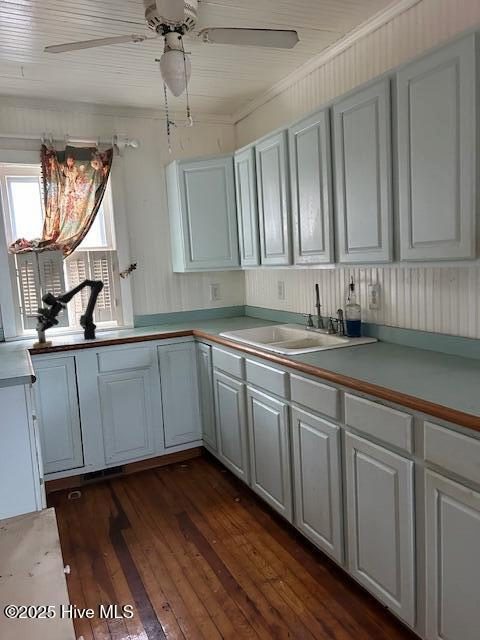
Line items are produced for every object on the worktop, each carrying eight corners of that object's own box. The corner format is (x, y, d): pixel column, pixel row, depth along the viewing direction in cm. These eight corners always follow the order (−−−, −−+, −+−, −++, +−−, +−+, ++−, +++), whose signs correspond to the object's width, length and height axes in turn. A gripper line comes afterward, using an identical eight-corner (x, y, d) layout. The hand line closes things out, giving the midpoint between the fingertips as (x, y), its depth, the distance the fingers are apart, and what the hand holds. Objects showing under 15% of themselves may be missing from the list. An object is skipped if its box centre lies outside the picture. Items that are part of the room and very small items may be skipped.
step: (52, 344, 299) (51, 340, 299) (49, 347, 290) (48, 343, 290) (36, 345, 297) (36, 342, 297) (33, 348, 289) (32, 344, 288)
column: (45, 341, 296) (43, 322, 295) (46, 342, 293) (44, 323, 291) (38, 342, 294) (36, 323, 293) (39, 343, 291) (36, 324, 289)
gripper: (37, 302, 299) (21, 322, 293) (51, 303, 287) (35, 324, 280) (51, 313, 306) (36, 332, 300) (65, 314, 293) (49, 335, 287)
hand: (38, 331), depth 292 cm, fingers open, 7 cm apart
